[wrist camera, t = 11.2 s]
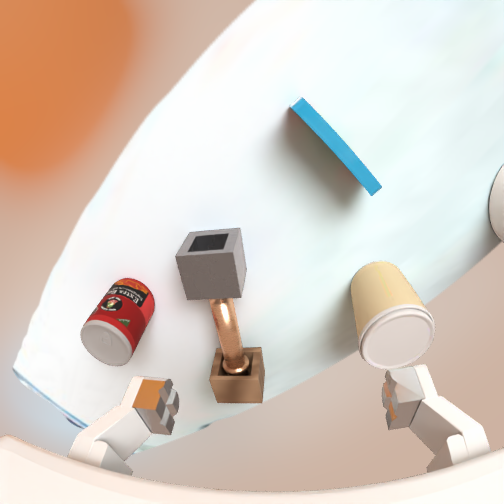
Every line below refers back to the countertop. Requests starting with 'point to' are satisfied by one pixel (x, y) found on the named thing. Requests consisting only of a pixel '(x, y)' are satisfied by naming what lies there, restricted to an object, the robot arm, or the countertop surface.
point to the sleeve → (212, 264)
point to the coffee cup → (389, 317)
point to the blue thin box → (336, 144)
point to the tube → (229, 337)
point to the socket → (239, 379)
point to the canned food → (118, 322)
